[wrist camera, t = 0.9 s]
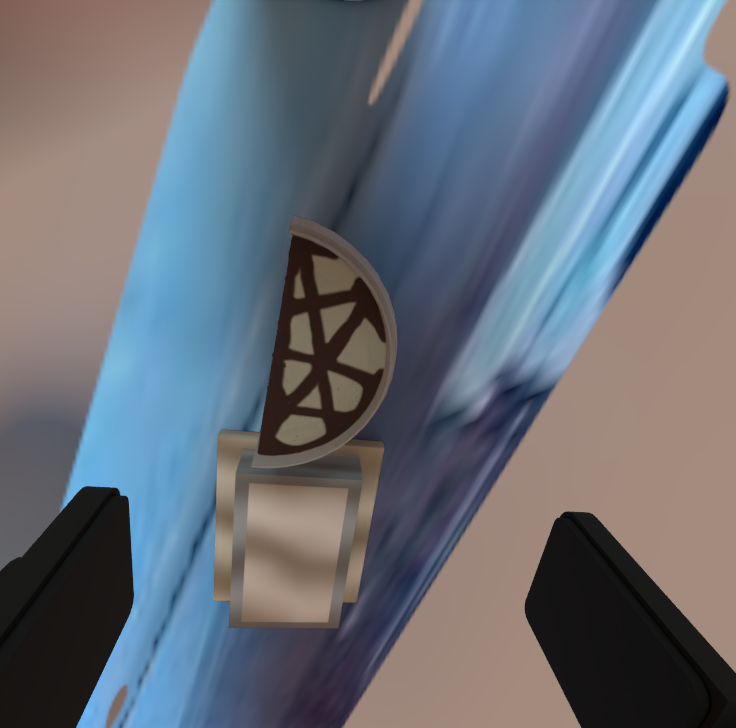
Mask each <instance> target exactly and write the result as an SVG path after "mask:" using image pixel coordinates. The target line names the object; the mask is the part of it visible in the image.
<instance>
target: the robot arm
mask: <svg viewBox="0 0 736 728" xmlns="http://www.w3.org/2000/svg"><path fill="white" fill-rule="evenodd" d="M346 1H363V0H346ZM133 599H134V590H133V571H132V553H131V535H130V517H129V501H128V498H127V496H120V492H119V490H118V489H117V488H110V487H91V486H86V487H83V488H82V489H81V490H80V491H79V492H78V493H77V494H76V495H75V496H74V498H73V499H72V500H71V501H70V502H69V503H68V505H67V506H66V507H65V508H64V509H63V510H62V511H61V513H60V514H59V515H58V516H57V517H56V518H55V520H54V521H53V522H52V523H51V524H50V525H49V527H48V528H47V529H46V530H45V531H44V532H43V534H42V535H41V536H40V537H39V538H38V539H37V540H36V542H35V543H34V544H33V545H32V546H31V547H30V548H29V550H28V551H27V552H26V553H25V554H24V555H23V557H18V558H16V559H14V560H13V561H11V562H9V563H8V564H7V565H6V566H5V567H4V568H3V569H2V570H1V571H0V728H76V726H77V724H78V722H79V720H80V718H81V716H82V714H83V712H84V710H85V708H86V705H87V703H88V701H89V699H90V697H91V695H92V693H93V691H94V689H95V686H96V684H97V682H98V680H99V678H100V676H101V674H102V672H103V670H104V668H105V665H106V663H107V661H108V659H109V657H110V655H111V653H112V651H113V649H114V646H115V644H116V642H117V640H118V638H119V636H120V634H121V632H122V630H123V628H124V625H125V623H126V621H127V619H128V617H129V614H130V612H131V609H132V605H133ZM525 614H526V618H527V620H528V622H529V624H530V626H531V628H532V630H533V632H534V634H535V636H536V638H537V640H538V642H539V644H540V646H541V648H542V650H543V652H544V654H545V656H546V658H547V660H548V662H549V664H550V666H551V668H552V670H553V672H554V674H555V676H556V678H557V680H558V682H559V684H560V686H561V688H562V690H563V692H564V694H565V696H566V698H567V700H568V702H569V704H570V706H571V708H572V710H573V712H574V714H575V716H576V718H577V720H578V722H579V724H580V726H581V728H736V673H735V672H734V671H733V670H732V669H731V667H730V666H729V665H728V664H727V663H726V662H725V661H724V659H723V658H722V657H721V656H720V655H719V654H718V653H717V652H716V651H715V649H714V648H713V647H712V646H711V645H710V644H709V643H708V642H707V641H706V639H705V638H704V637H703V636H702V635H701V634H700V633H699V632H698V630H696V628H695V627H694V626H693V625H692V624H691V623H690V622H689V620H688V619H687V618H686V617H685V616H684V615H683V614H682V613H681V611H680V610H679V609H678V608H677V607H676V606H675V605H674V604H673V603H672V601H671V600H670V599H669V598H668V597H667V596H666V595H665V594H664V593H663V591H662V590H661V589H660V588H659V587H658V586H657V585H656V584H655V582H654V581H653V580H652V579H651V578H650V577H649V576H648V575H647V574H646V572H645V571H644V570H643V569H642V568H641V567H640V566H639V565H638V563H637V562H636V561H635V560H634V559H633V558H632V557H631V556H630V555H629V553H628V552H627V551H626V550H625V549H624V548H623V547H622V546H621V544H620V543H619V542H618V541H617V540H616V539H615V538H614V537H613V536H612V535H611V533H610V532H609V531H608V530H607V529H606V528H605V527H604V525H603V524H602V523H601V522H600V521H599V520H598V519H597V518H596V517H595V516H594V515H593V514H591V513H585V512H564V513H563V514H562V515H561V516H560V518H557V519H556V520H555V522H554V524H553V527H552V530H551V532H550V535H549V538H548V541H547V544H546V546H545V549H544V552H543V554H542V557H541V560H540V563H539V565H538V568H537V571H536V574H535V577H534V579H533V582H532V585H531V587H530V591H529V593H528V596H527V598H526V601H525Z"/></svg>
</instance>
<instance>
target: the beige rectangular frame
mask: <svg viewBox="0 0 736 728" xmlns="http://www.w3.org/2000/svg"><path fill="white" fill-rule="evenodd" d="M259 434H260V432H246V431H233V430H221V431H220V433H219V436H218V454H217V493H216V531H215V570H214V601H230V614H229V628H338V627H339V621H340V615H341V609H342V603H343V602H346V603H356V602H357V597H358V591H359V586H360V580H361V575H362V569H363V564H364V558H365V553H366V547H367V541H368V536H369V530H370V525H371V519H372V514H373V508H374V503H375V497H376V492H377V486H378V481H379V475H380V470H381V464H382V459H383V453H384V445H383V441H370V440H357V439H351V440H350V441H348V442H347V443H346V444H344V445H343V446H341V447H340V448H339V449H337V450H335V451H333V452H331V453H329V454H327V455H325V456H323V457H322V458H319V459H316V460H313V461H310V462H307V463H304V464H299V465H295V466H290V467H281V468H254V467H251V465H252V461H253V457H254V453H255V449H256V446H257V442H258V438H259Z"/></svg>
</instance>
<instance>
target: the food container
mask: <svg viewBox="0 0 736 728" xmlns="http://www.w3.org/2000/svg"><path fill="white" fill-rule="evenodd" d="M289 233H290V234H291V235H292V236H293V237H292V240H291V247H290V250H289V262H288V268H287V275H286V277H285V286H284V292H283V298H282V305H281V311H280V318H279V321H278V330H277V336H276V342H275V348H274V353H273V354H272V356H273V360H272V366H271V372H270V379H269V385H268V387H267V388H268V390H267V396H266V401H265V407H264V413H263V420H262V426H261V430H260V434H259V438H258V442H257V446H256V449H255V453H254V457H253V461H252V465H251V467H254V468H281V467H290V466H295V465H299V464H304V463H307V462H310V461H313V460H316V459H319V458H322V457H323V456H325V455H327V454H329V453H331V452H333V451H335V450H337V449H339V448H340V447H341V446H343V445H344V444H346V443H347V442H348V441H350V440H351V439H352V438H353V437H354V436H355V435H356V434H358V433H359V432H360V431H361V430H362V429H363V428H364V427H365V426H366V425H367V423H368V422H369V421H370V420H371V418H372V417H373V416H374V414H375V413H376V412H377V411H378V409H379V407H380V405H381V404H382V402H383V400H384V398H385V396H386V394H387V392H388V389H389V386H390V383H391V381H392V378H393V373H394V367H395V362H396V355H397V326H396V319H395V313H394V310H393V307H392V303H391V300H390V297H389V294H388V292H387V290H386V288H385V286H384V284H383V283H382V281H381V279H380V277H379V275H378V274H377V272H376V271H375V270H374V268H373V267H372V266H371V264H370V263H369V262H368V260H367V259H366V258H365V257H364V256H363V255H362V254H361V253H360V252H359V251H358V250H357V249H356V248H355V247H354V246H353V245H352V244H350V243H349V242H348V241H346V240H345V239H343V238H342V237H341V236H339V235H338V234H336V233H335V232H334V231H332V230H330V229H328V228H326V227H324V226H322V225H320V224H318V223H316V222H314V221H311V220H307V219H304V218H301V217H298V216H295V215H294V217H293V219H292V222H291V226H290V229H289Z"/></svg>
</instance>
